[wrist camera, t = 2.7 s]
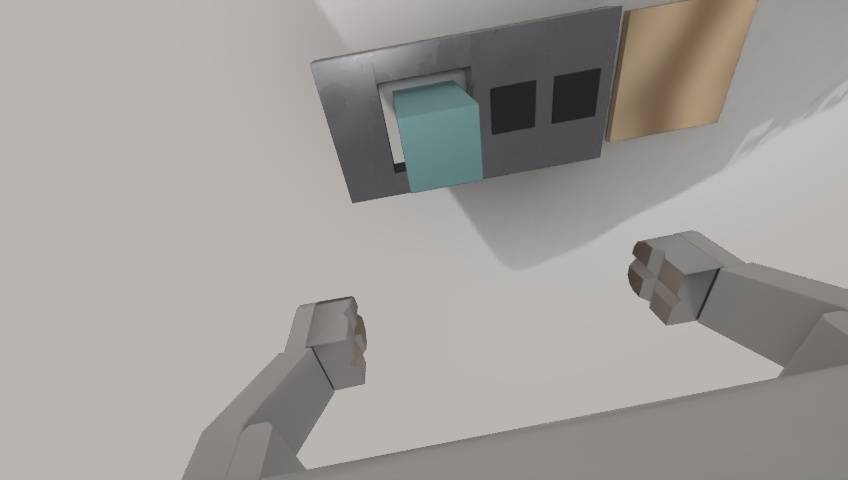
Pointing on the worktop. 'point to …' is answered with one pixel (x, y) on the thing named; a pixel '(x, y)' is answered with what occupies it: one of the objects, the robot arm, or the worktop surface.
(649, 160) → the worktop surface
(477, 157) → the upright teal block
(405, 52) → the grey slotted board
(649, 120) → the pad
